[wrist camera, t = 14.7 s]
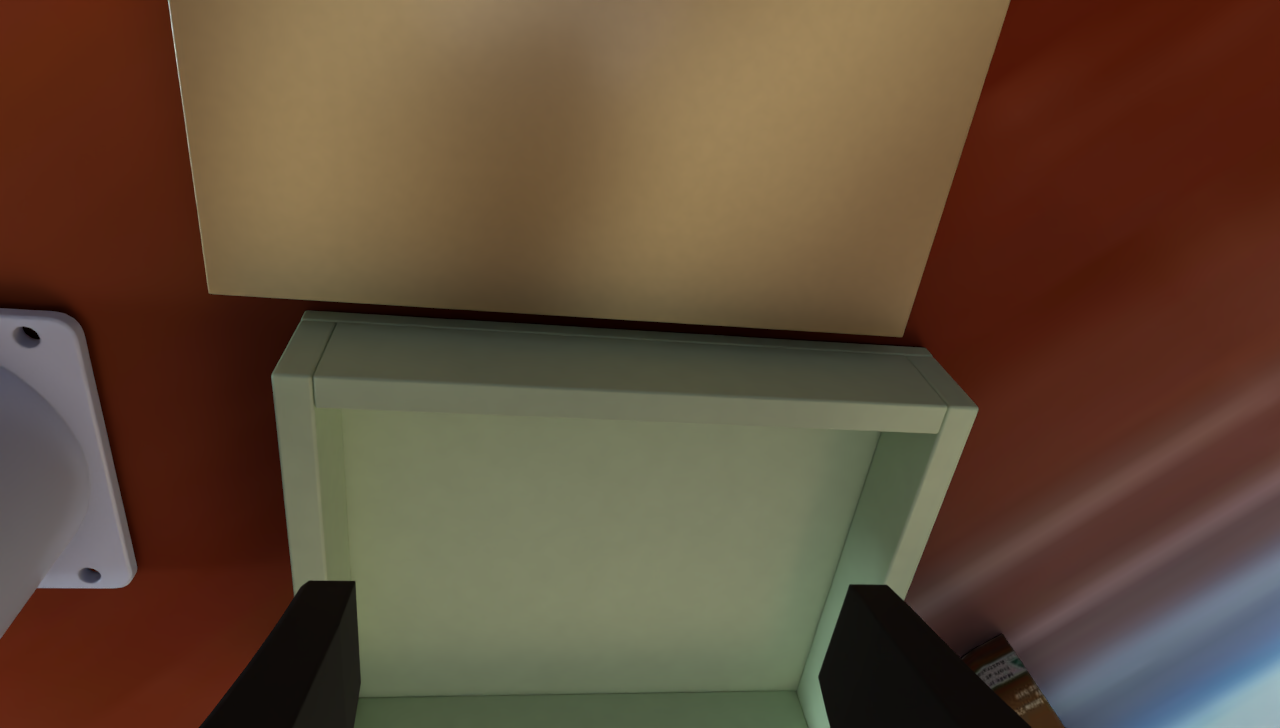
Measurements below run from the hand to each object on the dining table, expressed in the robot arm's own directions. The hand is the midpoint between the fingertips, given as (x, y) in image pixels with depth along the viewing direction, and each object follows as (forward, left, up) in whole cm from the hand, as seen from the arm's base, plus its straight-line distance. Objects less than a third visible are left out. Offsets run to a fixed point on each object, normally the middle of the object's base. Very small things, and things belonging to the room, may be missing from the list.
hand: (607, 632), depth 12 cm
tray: (+1, -6, -9) cm, 12 cm away
